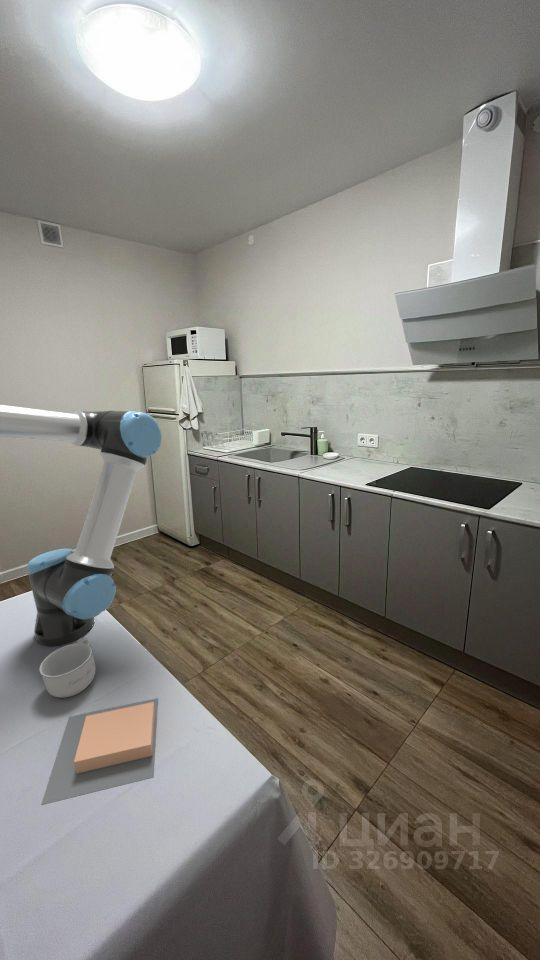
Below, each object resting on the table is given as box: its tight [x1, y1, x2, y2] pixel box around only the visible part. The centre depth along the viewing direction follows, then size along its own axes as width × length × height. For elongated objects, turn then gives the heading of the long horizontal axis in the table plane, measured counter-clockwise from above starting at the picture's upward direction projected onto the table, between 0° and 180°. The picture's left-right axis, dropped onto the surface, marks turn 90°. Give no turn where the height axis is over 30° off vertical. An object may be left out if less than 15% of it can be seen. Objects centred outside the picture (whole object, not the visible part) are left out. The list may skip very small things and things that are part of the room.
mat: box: [41, 697, 159, 806], centre depth 76 cm, size 18×18×1 cm
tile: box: [74, 702, 155, 773], centre depth 76 cm, size 10×3×13 cm
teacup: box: [39, 637, 96, 699], centre depth 92 cm, size 14×11×8 cm
